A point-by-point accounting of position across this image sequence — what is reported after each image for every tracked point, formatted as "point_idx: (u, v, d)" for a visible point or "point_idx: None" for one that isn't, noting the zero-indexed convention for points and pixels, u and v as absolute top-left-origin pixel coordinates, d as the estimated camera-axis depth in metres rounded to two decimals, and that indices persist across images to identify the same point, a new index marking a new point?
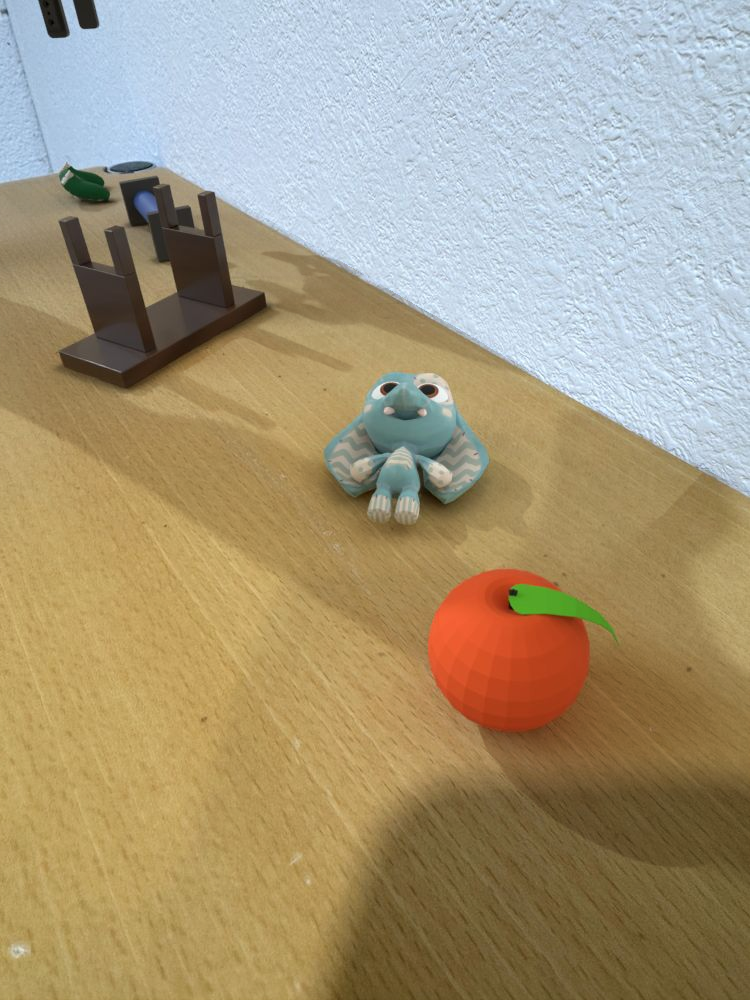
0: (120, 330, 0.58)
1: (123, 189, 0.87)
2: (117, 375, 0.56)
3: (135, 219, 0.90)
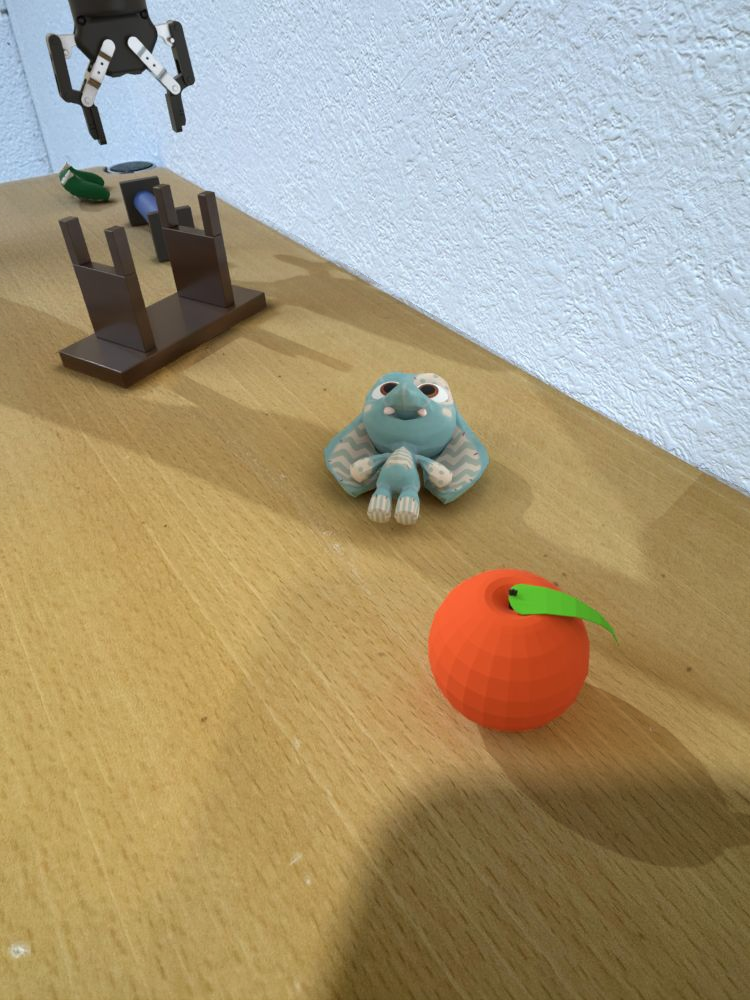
0: (120, 330, 0.58)
1: (123, 189, 0.87)
2: (117, 375, 0.56)
3: (135, 219, 0.90)
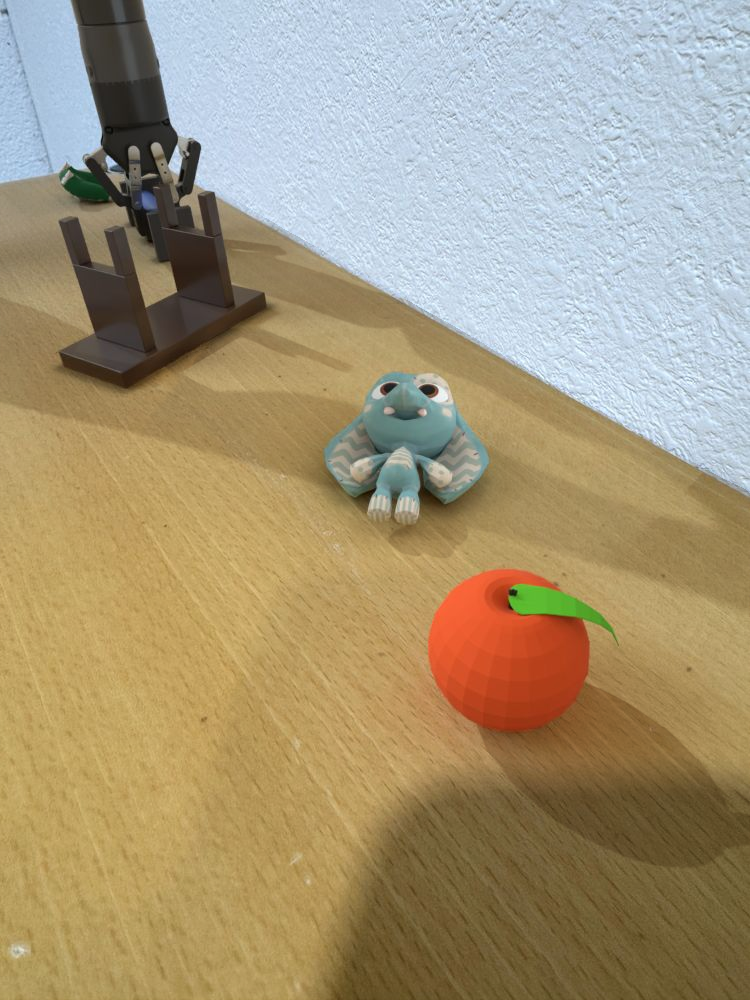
0: (120, 330, 0.58)
1: (123, 189, 0.87)
2: (117, 375, 0.56)
3: None
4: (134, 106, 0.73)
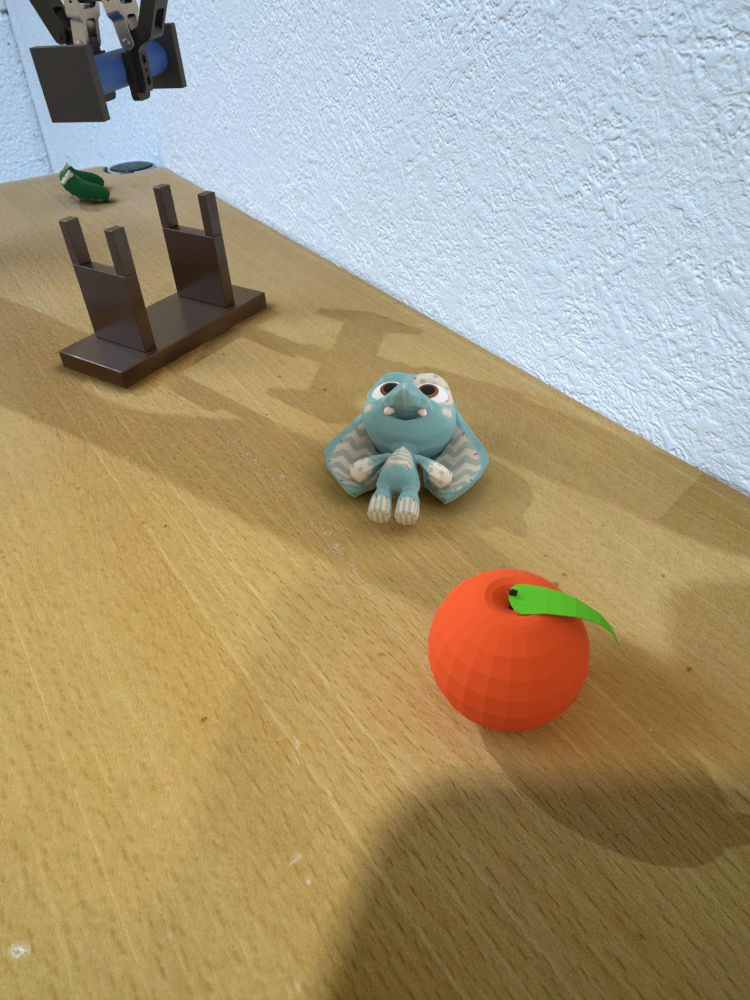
0: (120, 330, 0.58)
1: None
2: (117, 375, 0.56)
3: None
4: None
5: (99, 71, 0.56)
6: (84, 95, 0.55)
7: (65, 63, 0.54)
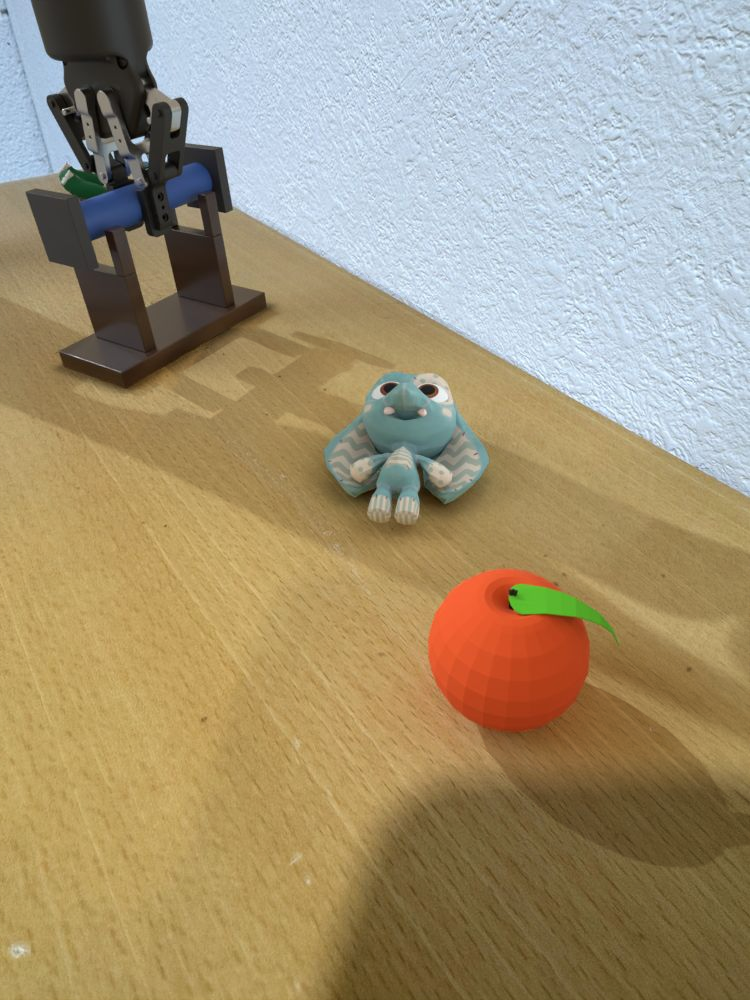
0: (120, 330, 0.58)
1: None
2: (117, 375, 0.56)
3: None
4: (45, 25, 0.47)
5: (98, 215, 0.53)
6: (71, 244, 0.52)
7: (53, 211, 0.51)
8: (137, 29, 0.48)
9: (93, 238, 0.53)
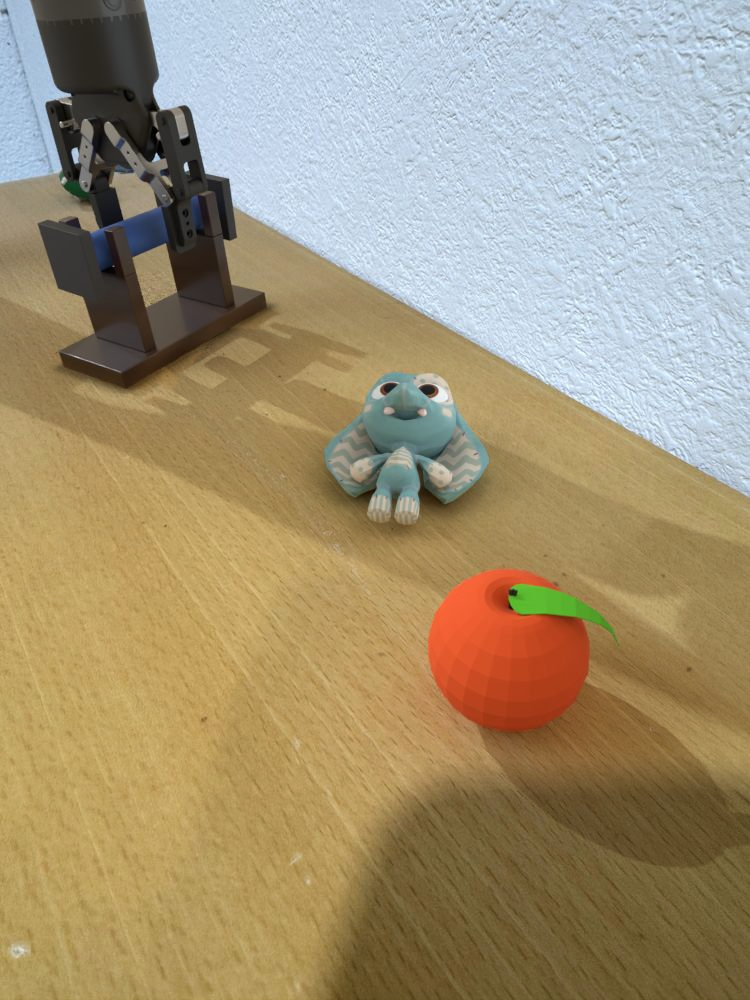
0: (120, 330, 0.58)
1: None
2: (117, 375, 0.56)
3: None
4: (54, 60, 0.48)
5: (108, 247, 0.54)
6: (81, 275, 0.53)
7: (65, 244, 0.52)
8: (144, 63, 0.49)
9: (102, 269, 0.55)
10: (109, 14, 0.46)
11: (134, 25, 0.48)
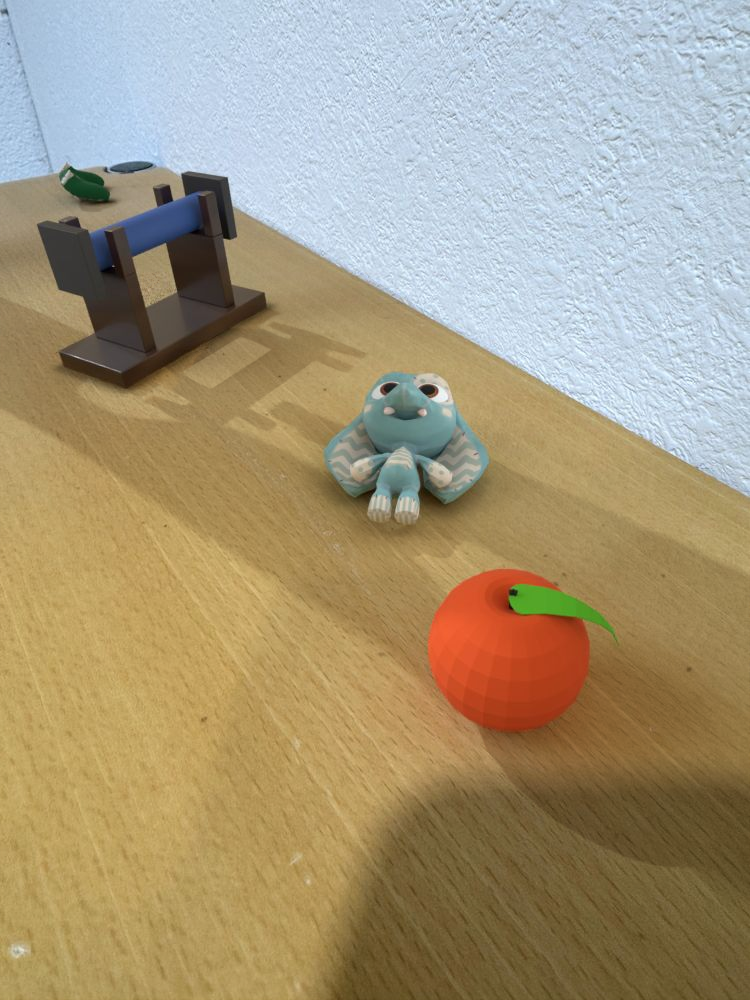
0: (120, 330, 0.58)
1: (183, 182, 0.63)
2: (117, 375, 0.56)
3: None
4: None
5: (107, 246, 0.54)
6: (80, 275, 0.53)
7: (64, 244, 0.52)
8: None
9: (102, 268, 0.55)
10: None
11: None
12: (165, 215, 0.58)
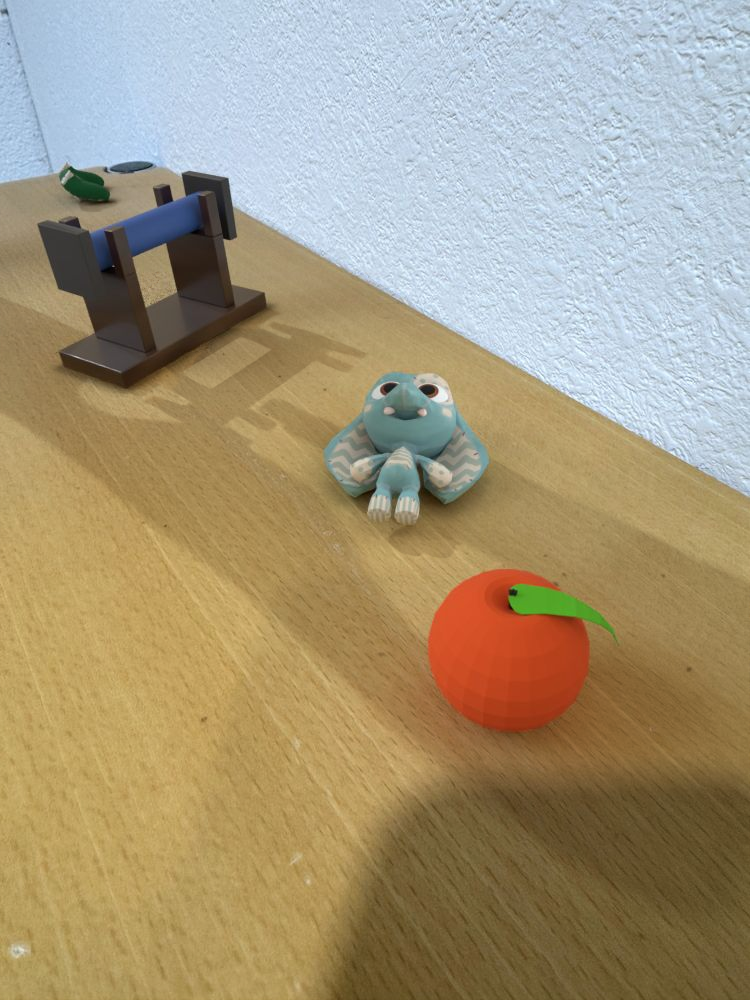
0: (120, 330, 0.58)
1: (184, 182, 0.62)
2: (117, 375, 0.56)
3: None
4: None
5: (108, 247, 0.54)
6: (81, 275, 0.53)
7: (64, 244, 0.52)
8: None
9: (102, 268, 0.55)
10: None
11: None
12: (165, 215, 0.58)
